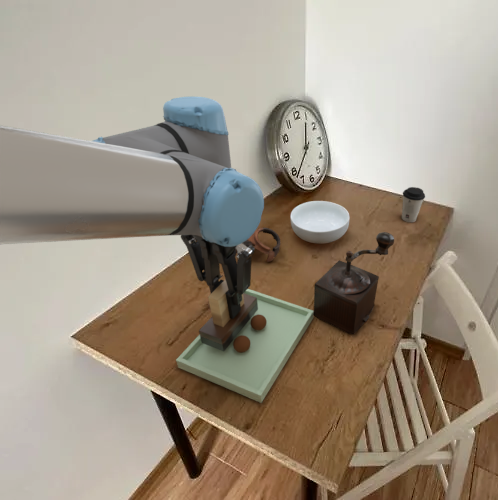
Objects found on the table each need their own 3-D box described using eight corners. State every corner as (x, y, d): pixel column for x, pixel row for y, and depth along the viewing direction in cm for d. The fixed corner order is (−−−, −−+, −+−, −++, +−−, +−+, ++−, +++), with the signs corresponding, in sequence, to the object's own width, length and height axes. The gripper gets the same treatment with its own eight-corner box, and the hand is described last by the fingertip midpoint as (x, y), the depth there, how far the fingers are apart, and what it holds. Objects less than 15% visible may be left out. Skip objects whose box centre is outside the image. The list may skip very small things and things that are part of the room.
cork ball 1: (245, 358, 67) (243, 347, 65) (230, 352, 68) (228, 341, 66) (254, 346, 70) (253, 335, 68) (240, 340, 70) (238, 329, 68)
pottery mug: (260, 240, 101) (272, 221, 96) (276, 266, 98) (290, 249, 93) (222, 247, 92) (234, 227, 87) (239, 277, 89) (252, 258, 84)
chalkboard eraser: (223, 351, 66) (215, 312, 60) (201, 343, 67) (191, 303, 61) (258, 309, 75) (254, 271, 69) (238, 302, 76) (232, 264, 70)
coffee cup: (406, 226, 111) (412, 197, 105) (393, 215, 116) (398, 187, 110) (424, 221, 114) (430, 193, 108) (410, 211, 119) (416, 184, 113)
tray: (261, 403, 61) (260, 395, 60) (178, 367, 65) (175, 359, 64) (313, 318, 77) (313, 310, 76) (244, 294, 82) (243, 287, 81)
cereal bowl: (305, 215, 112) (305, 195, 108) (355, 228, 108) (357, 207, 104) (280, 243, 99) (279, 222, 95) (335, 258, 95) (337, 237, 91)
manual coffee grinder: (355, 337, 74) (365, 271, 63) (312, 315, 78) (313, 249, 67) (386, 295, 85) (399, 232, 74) (346, 277, 89) (353, 216, 78)
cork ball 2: (261, 335, 72) (260, 325, 70) (248, 330, 72) (246, 319, 71) (269, 324, 74) (269, 314, 72) (256, 320, 75) (255, 309, 73)
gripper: (266, 205, 56) (273, 310, 70) (187, 185, 60) (208, 288, 74) (239, 229, 50) (252, 338, 64) (153, 204, 54) (183, 312, 68)
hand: (229, 311), depth 69 cm, fingers closed on chalkboard eraser, 2 cm apart
